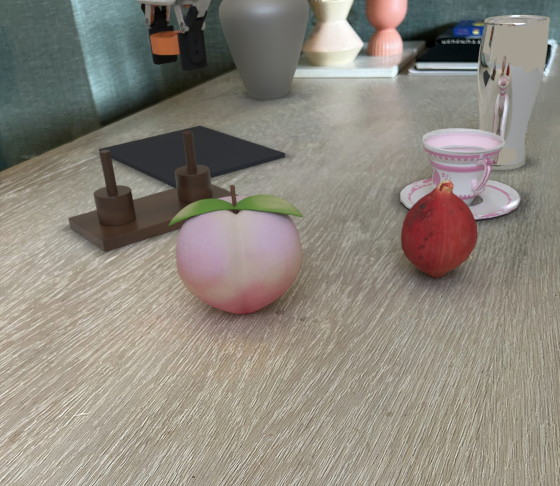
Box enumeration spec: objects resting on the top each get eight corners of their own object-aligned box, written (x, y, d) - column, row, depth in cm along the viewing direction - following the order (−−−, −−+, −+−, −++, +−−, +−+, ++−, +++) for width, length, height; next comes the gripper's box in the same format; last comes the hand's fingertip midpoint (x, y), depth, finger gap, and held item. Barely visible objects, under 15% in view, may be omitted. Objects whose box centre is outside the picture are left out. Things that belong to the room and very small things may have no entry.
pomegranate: (417, 298, 52) (425, 198, 47) (387, 268, 57) (391, 174, 52) (484, 286, 53) (498, 187, 49) (449, 257, 58) (459, 164, 53)
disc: (143, 51, 81) (141, 35, 80) (186, 44, 83) (184, 28, 82) (168, 56, 77) (166, 39, 76) (212, 49, 79) (211, 32, 78)
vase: (208, 100, 113) (190, -78, 99) (261, 84, 122) (252, -81, 108) (276, 109, 106) (267, -83, 92) (327, 91, 115) (326, -86, 101)
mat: (99, 153, 90) (98, 148, 89) (200, 129, 98) (200, 125, 97) (175, 188, 76) (174, 183, 76) (285, 157, 84) (285, 152, 84)
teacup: (379, 192, 72) (381, 133, 69) (476, 175, 75) (483, 118, 72) (436, 231, 63) (442, 164, 59) (545, 210, 66) (556, 146, 62)
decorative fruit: (294, 281, 55) (290, 160, 50) (312, 331, 49) (309, 197, 43) (181, 294, 55) (163, 171, 49) (183, 345, 48) (162, 211, 42)
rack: (70, 229, 68) (52, 150, 63) (204, 190, 75) (196, 118, 71) (105, 252, 62) (87, 169, 58) (245, 208, 70) (239, 131, 66)
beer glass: (505, 175, 75) (526, 25, 66) (454, 163, 79) (468, 20, 71) (541, 161, 78) (565, 16, 70) (490, 150, 83) (508, 13, 74)
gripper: (89, -112, 75) (119, 63, 85) (166, -125, 63) (190, 80, 73) (148, -114, 78) (170, 54, 89) (231, -127, 67) (246, 68, 77)
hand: (179, 64), depth 81 cm, fingers closed on disc, 6 cm apart
